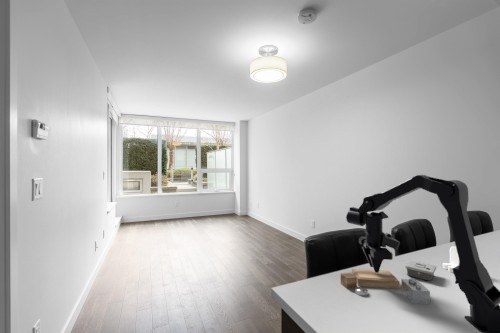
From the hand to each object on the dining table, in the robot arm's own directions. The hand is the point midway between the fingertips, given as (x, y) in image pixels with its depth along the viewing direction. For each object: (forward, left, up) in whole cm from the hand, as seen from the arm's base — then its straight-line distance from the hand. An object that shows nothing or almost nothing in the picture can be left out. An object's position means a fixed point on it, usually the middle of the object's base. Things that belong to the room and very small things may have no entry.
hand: (374, 269), depth 93 cm
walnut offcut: (-5, +11, -5) cm, 13 cm away
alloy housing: (-10, -9, -5) cm, 15 cm away
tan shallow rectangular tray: (0, 0, -4) cm, 4 cm away
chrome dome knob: (-10, +8, -5) cm, 13 cm away
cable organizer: (+16, -38, -5) cm, 42 cm away
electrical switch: (+6, -24, -5) cm, 25 cm away
